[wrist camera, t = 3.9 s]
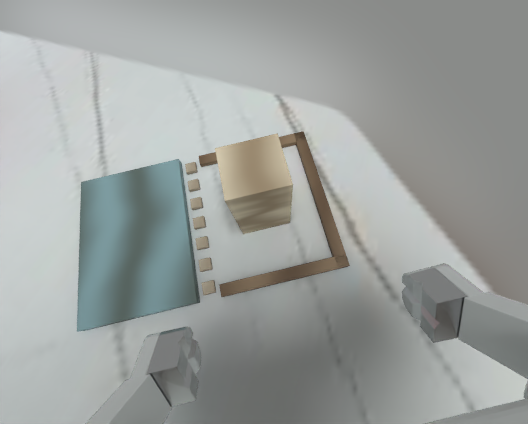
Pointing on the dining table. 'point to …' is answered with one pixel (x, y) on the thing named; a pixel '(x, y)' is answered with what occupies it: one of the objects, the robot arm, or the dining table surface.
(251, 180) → the birch stub block
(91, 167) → the dining table surface
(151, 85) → the dining table surface
